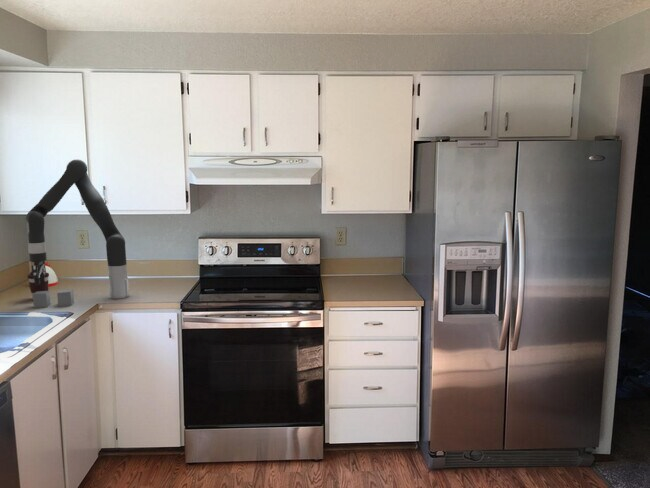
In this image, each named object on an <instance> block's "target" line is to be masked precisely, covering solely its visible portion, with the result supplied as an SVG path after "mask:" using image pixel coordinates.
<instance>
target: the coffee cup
mask: <svg viewBox="0 0 650 488" xmlns="http://www.w3.org/2000/svg"><path fill="white" fill-rule="evenodd" d="M36 275H37V274H36ZM26 276H27V279H28V280H29V281H28V283H29V288H30V293H31V298H32V300H33V294H34V293H35V292H37V291H49V287H48V276H49V273H46V272H45V274H44V276H45V282H40V285H39V286H35V282H34V278H32V270H31V271H30V273H29V274H27V275H26Z"/></svg>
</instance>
